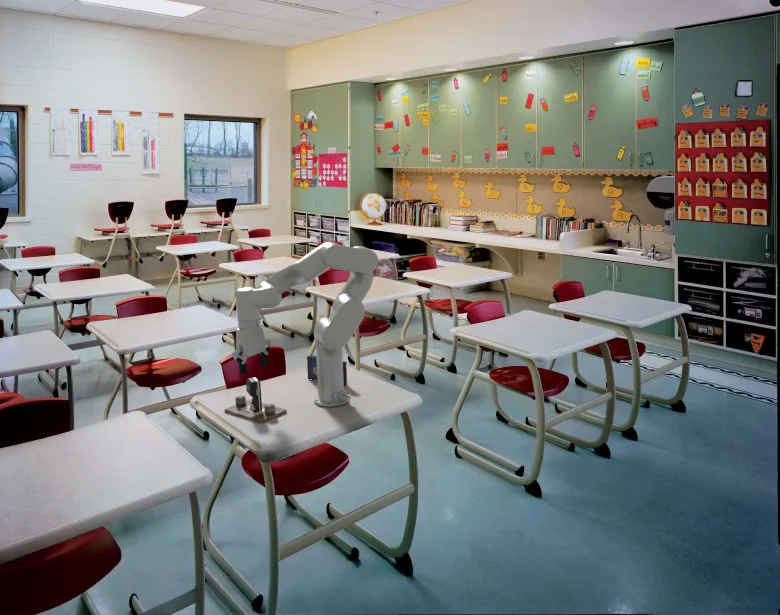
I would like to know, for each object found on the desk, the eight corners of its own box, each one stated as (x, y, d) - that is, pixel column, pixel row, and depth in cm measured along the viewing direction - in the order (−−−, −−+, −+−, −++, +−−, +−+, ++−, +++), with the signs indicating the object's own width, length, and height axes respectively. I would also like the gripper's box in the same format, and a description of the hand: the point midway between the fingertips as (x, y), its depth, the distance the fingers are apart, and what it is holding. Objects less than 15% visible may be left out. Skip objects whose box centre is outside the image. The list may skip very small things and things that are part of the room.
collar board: (286, 412, 229) (285, 401, 228) (261, 423, 219) (261, 412, 218) (249, 401, 239) (249, 391, 238) (224, 412, 230) (223, 401, 229)
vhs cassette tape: (347, 385, 255) (346, 361, 253) (343, 387, 253) (342, 363, 250) (312, 377, 265) (311, 354, 263) (307, 379, 262) (306, 356, 260)
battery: (246, 407, 231) (244, 377, 228) (257, 405, 232) (255, 375, 230) (252, 413, 224) (249, 383, 222) (262, 411, 226) (260, 381, 224)
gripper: (260, 316, 231) (264, 361, 235) (222, 327, 217) (228, 375, 221) (275, 318, 226) (279, 364, 230) (237, 330, 213) (242, 379, 217)
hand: (254, 369), depth 226 cm, fingers open, 9 cm apart
